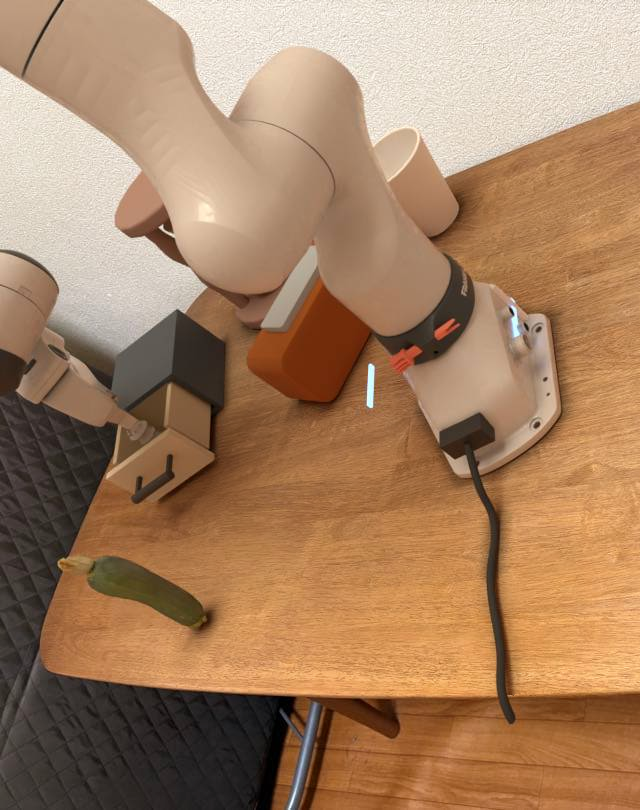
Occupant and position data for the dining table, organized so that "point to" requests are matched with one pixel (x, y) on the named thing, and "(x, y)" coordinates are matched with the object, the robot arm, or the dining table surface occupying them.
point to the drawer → (163, 444)
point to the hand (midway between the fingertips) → (123, 412)
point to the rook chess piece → (142, 432)
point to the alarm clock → (307, 338)
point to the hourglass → (145, 216)
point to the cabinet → (171, 363)
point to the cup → (416, 180)
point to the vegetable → (137, 587)
